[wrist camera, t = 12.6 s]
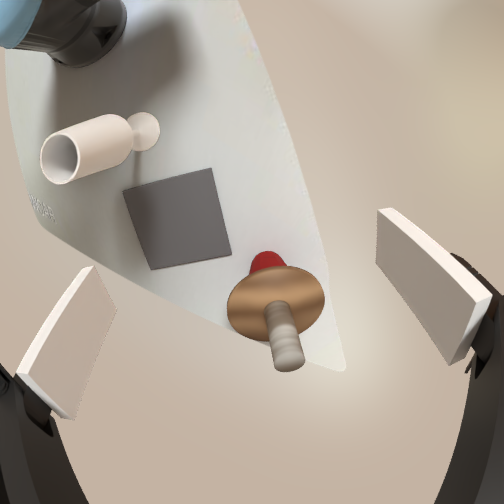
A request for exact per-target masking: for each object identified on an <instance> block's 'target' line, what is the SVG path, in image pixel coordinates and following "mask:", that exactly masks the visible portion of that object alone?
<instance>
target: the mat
mask: <svg viewBox="0 0 504 504" xmlns="http://www.w3.org/2000/svg"><path fill="white" fill-rule="evenodd" d="M123 195H124V198H125V201H126V204H127V207H128V210H129V213H130V216H131V219H132V222H133V224H134V227H135V230H136V233H137V235H138V238H139V241H140V243H141V246H142V249H143V251H144V254H145V256H146V259H147V261H148V264H149V266H150V269H151V270H153V269H158V268H163V267H168V266H173V265H178V264H184V263H189V262H194V261H199V260H204V259H210V258H215V257H220V256H225V255H230V254H232V252H231V248H230V244H229V240H228V236H227V232H226V228H225V223H224V219H223V215H222V211H221V207H220V203H219V198H218V194H217V190H216V186H215V181H214V177H213V173H212V169H211V168H208V169H204V170H200V171H195V172H191V173H187V174H183V175H179V176H175V177H171V178H167V179H164V180H160V181H156V182H153V183H149V184H145V185H142V186H139V187H135V188H132V189H128V190H125V191H123Z"/></svg>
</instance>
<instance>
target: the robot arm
mask: <svg viewBox="0 0 504 504" xmlns="http://www.w3.org/2000/svg"><path fill="white" fill-rule="evenodd" d="M126 18H127V12H126V8H125V5H124V3H123V2H122V1H121V0H0V46H1V47H4V48H6V49H21V50H31V51H39V52H46V53H47V54H48V55H49V56H50V57H51V58H52V59H53V60H54V61H55V62H57V63H58V64H60V65H63V66H67V67H83V66H87V65H89V64H91V63H93V62H95V61H97V60H99V59H100V58H101V57H103V56H104V55H105V54H106V53H107V52H109V51H110V50H111V48H112V47H113V46H114V45H115V44H116V42H117V41H118V39H119V38H120V36H121V34H122V32H123V30H124V27H125V24H126ZM376 264H377V265H378V267H379V268H380V269H381V270H382V272H383V273H384V274H385V275H386V277H387V278H388V279H389V281H390V282H391V283H392V284H393V286H394V287H395V288H396V290H397V291H398V292H399V294H400V295H401V296H402V298H403V299H404V300H405V302H406V303H407V305H408V306H409V307H410V309H411V310H412V311H413V313H414V314H415V315H416V317H417V318H418V320H419V321H420V323H421V324H422V326H423V327H424V328H425V330H426V332H427V333H428V334H429V336H430V337H431V339H432V340H433V342H434V343H435V345H436V346H437V348H438V350H439V351H440V353H441V354H442V356H443V357H444V359H445V361H446V362H447V364H448V365H452V364H454V363H456V362H458V361H460V360H462V359H464V358H465V356H466V354H467V353H468V351H469V349H470V347H472V348H473V349H474V351H475V354H474V356H473V357H472V359H471V361H470V363H469V364H468V366H467V368H466V371H465V373H468V371H469V370H470V368H471V375H470V382H469V388H468V394H467V400H466V405H465V410H464V415H463V419H462V423H461V428H460V432H459V435H458V439H457V443H456V446H455V449H454V453H453V456H452V459H451V462H450V465H449V468H448V471H447V473H446V476H445V479H444V481H443V484H442V486H441V489H440V491H439V493H438V496H437V498H436V500H435V503H434V504H504V295H503V296H502V295H501V294H500V293H499V292H498V291H497V290H496V289H495V288H494V287H493V286H492V285H491V284H490V283H489V282H488V281H487V280H486V279H485V278H484V277H483V276H482V275H481V274H478V271H476V270H475V269H474V268H472V266H471V265H470V264H469V263H468V262H467V261H465V260H464V259H463V258H461V257H459V256H457V255H455V254H453V253H450V254H449V253H448V252H447V251H446V250H445V249H443V248H442V247H441V246H440V245H439V244H438V243H436V242H435V241H434V240H433V239H431V238H430V237H429V236H428V235H427V234H426V233H424V232H423V231H422V230H421V229H419V228H418V227H417V226H416V225H414V224H413V223H412V222H410V221H409V220H408V219H406V218H405V217H404V216H403V215H401V214H400V213H399V212H397V211H396V210H395V209H393V208H385V209H379V210H377V247H376ZM116 312H117V309H116V307H115V306H114V304H113V302H112V300H111V298H110V296H109V294H108V292H107V291H106V288H105V287H104V285H103V283H102V281H101V279H100V277H99V275H98V272H97V270H96V268H95V266H89V267H85V268H82V269H81V271H80V272H79V273H78V275H77V276H76V277H75V279H74V280H73V281H72V283H71V284H70V286H69V287H68V288H67V290H66V291H65V293H64V294H63V295H62V297H61V298H60V300H59V301H58V303H57V304H56V306H55V307H54V309H53V310H52V312H51V313H50V315H49V316H48V318H47V319H46V321H45V322H44V324H43V326H42V327H41V329H40V331H39V332H38V334H37V335H36V337H35V339H34V340H33V342H32V344H31V346H30V347H29V349H28V351H27V352H26V354H25V356H24V358H23V360H22V362H21V363H20V365H19V367H18V369H17V371H16V374H15V376H14V377H13V378H12V376H11V375H10V374H9V373H8V372H7V371H6V370H5V369H4V367H3V366H2V365H1V364H0V504H89V503H88V501H87V499H86V497H85V495H84V493H83V491H82V489H81V487H80V485H79V483H78V480H77V478H76V476H75V474H74V471H73V469H72V467H71V464H70V462H69V459H68V457H67V454H66V452H65V449H64V446H63V444H62V440H61V437H60V435H59V431H58V428H57V425H56V422H55V420H54V418H53V417H52V416H51V415H50V413H51V410H53V411H54V412H55V413H56V414H57V415H59V416H60V417H61V418H64V419H70V420H75V417H76V414H77V411H78V408H79V405H80V402H81V399H82V396H83V393H84V390H85V387H86V385H87V382H88V379H89V377H90V374H91V371H92V368H93V366H94V363H95V361H96V358H97V356H98V353H99V351H100V348H101V346H102V344H103V341H104V338H105V337H106V334H107V332H108V329H109V327H110V325H111V323H112V321H113V318H114V316H115V314H116Z"/></svg>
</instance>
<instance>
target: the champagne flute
mask: <svg viewBox="0 0 504 504" xmlns="http://www.w3.org/2000/svg"><path fill="white" fill-rule="evenodd" d="M159 134H160V127H159V123H158V121H157V119H156V118H155V117H154V116H153V115H151V114H149V113H146V112H139V113H135V114H133V115H132V116H130V117H129V118H128V119H127V120H125V119H124V118H122V117H120V116H118V115H115V114H106V115H102V116H99V117H96V118H93V119H90V120H87V121H84V122H81V123H79V124H76V125H73V126H71V127H68V128H65V129H63V130H60V131H58V132H55V133H53V134H51V135H50V136H49V137H48V138H47V139H46V140H45V142H44V143H43V145H42V148H41V152H40V165H41V169H42V171H43V173H44V175H45V176H46V178H47V179H48V180H50V181H51V182H53V183H55V184H65V183H68V182H71V181H73V180H76V179H79V178H82V177H84V176H87V175H90V174H93V173H96V172H99V171H102V170H105V169H109V168H112V167H115V166H117V165H119V164H121V163H122V162H123V161H124V160H125V159H126V158H127V157H128V155H129V153H130V152H131V149H132V150H135V151H145V150H148V149H150V148H151V147H152V146H153V145H154V144H155V143H156V142H157V140H158V138H159Z"/></svg>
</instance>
